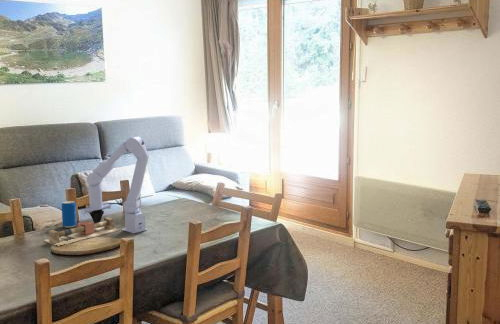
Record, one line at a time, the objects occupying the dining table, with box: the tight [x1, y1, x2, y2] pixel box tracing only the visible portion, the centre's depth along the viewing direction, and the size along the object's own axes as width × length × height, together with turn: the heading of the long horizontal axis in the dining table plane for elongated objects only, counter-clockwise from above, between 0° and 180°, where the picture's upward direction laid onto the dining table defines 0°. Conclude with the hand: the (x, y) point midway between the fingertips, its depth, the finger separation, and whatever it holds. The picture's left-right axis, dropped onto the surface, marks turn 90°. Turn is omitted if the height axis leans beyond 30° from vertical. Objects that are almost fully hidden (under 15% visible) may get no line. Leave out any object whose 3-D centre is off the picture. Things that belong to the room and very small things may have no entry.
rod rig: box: [43, 216, 120, 245], centre depth 224 cm, size 30×12×5 cm, turn 140°
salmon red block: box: [77, 220, 94, 235], centre depth 226 cm, size 4×7×5 cm, turn 50°
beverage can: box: [61, 200, 78, 229], centre depth 239 cm, size 6×6×12 cm
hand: (97, 226), depth 233 cm, fingers closed
